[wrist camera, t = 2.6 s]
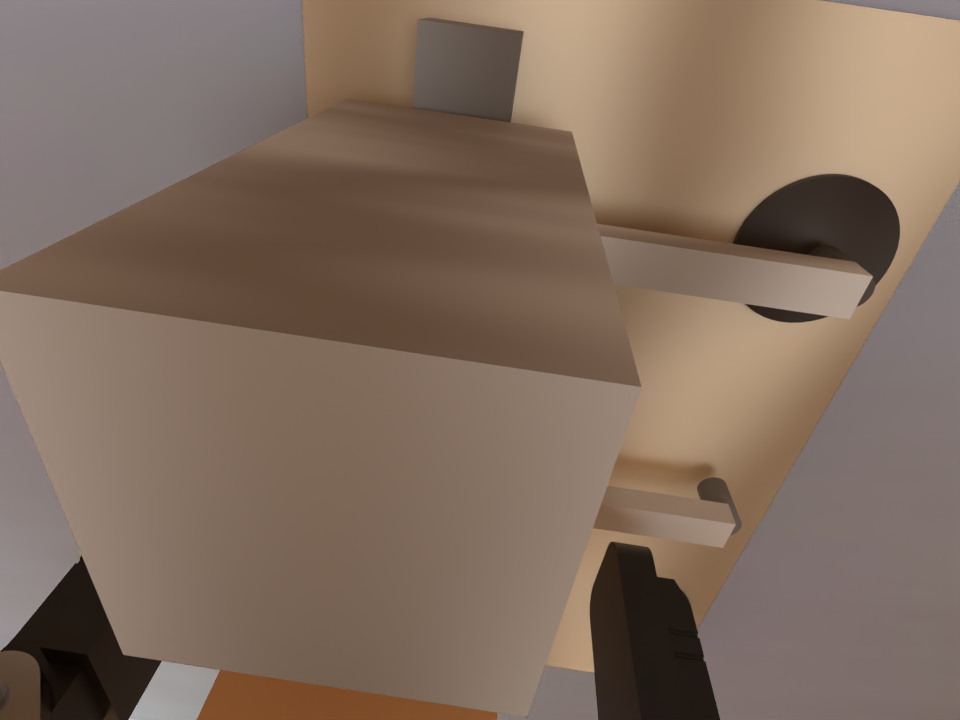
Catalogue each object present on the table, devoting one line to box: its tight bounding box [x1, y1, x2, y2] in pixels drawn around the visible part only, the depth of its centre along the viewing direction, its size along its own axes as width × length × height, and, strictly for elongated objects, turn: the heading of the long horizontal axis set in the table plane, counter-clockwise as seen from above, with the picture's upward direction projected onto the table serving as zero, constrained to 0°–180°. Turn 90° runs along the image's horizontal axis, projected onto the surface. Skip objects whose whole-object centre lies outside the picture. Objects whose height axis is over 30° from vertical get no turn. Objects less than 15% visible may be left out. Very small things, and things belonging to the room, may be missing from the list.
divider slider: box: [197, 477, 742, 720], centre depth 10 cm, size 9×4×8 cm, turn 83°
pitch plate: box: [0, 0, 960, 717], centre depth 11 cm, size 12×20×10 cm, turn 173°
